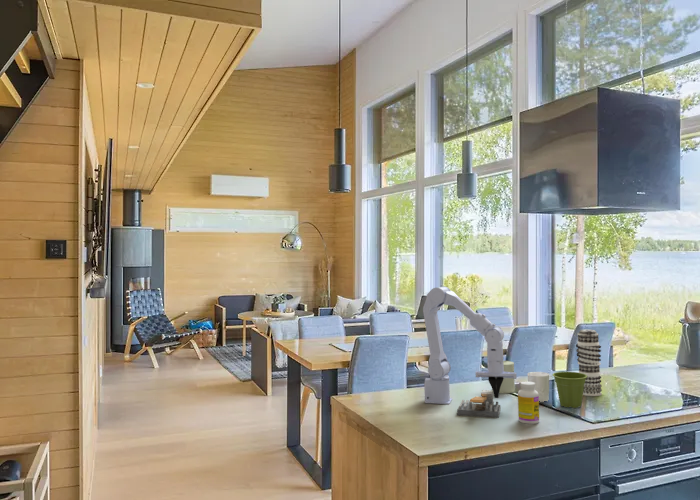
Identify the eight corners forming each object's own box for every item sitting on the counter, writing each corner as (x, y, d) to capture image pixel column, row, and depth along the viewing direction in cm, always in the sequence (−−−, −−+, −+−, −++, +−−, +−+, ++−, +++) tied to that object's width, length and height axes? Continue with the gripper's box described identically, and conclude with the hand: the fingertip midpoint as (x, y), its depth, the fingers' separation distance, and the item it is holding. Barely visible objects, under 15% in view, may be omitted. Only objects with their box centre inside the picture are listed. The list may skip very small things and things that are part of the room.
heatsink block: (457, 415, 198) (457, 404, 198) (461, 408, 208) (460, 397, 208) (498, 417, 194) (498, 406, 194) (500, 410, 203) (500, 399, 203)
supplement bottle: (536, 425, 184) (535, 385, 184) (516, 423, 188) (514, 384, 188) (541, 420, 190) (540, 381, 190) (521, 417, 193) (520, 380, 193)
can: (518, 389, 234) (517, 360, 234) (511, 394, 226) (510, 364, 227) (496, 387, 239) (495, 358, 239) (488, 392, 231) (487, 362, 232)
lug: (481, 407, 207) (480, 393, 207) (482, 404, 211) (482, 390, 211) (492, 408, 206) (492, 393, 206) (493, 405, 210) (493, 390, 210)
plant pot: (548, 406, 206) (547, 375, 207) (561, 400, 215) (560, 370, 215) (581, 412, 198) (579, 379, 199) (593, 404, 207) (592, 374, 207)
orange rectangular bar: (470, 404, 194) (470, 399, 194) (475, 401, 209) (475, 396, 209) (482, 404, 193) (482, 400, 193) (486, 401, 207) (486, 397, 208)
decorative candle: (590, 397, 218) (588, 332, 218) (572, 392, 226) (570, 329, 227) (608, 394, 222) (605, 330, 222) (589, 389, 230) (587, 328, 231)
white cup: (551, 403, 211) (550, 376, 212) (529, 402, 213) (528, 375, 213) (548, 397, 219) (547, 372, 219) (527, 397, 221) (526, 371, 221)
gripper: (474, 361, 207) (475, 399, 207) (515, 363, 203) (516, 401, 202) (476, 358, 214) (477, 394, 214) (516, 359, 209) (517, 396, 209)
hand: (496, 397), depth 208 cm, fingers closed
